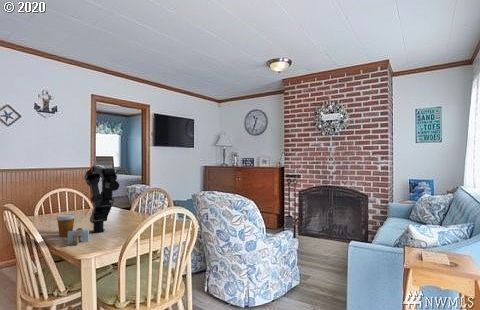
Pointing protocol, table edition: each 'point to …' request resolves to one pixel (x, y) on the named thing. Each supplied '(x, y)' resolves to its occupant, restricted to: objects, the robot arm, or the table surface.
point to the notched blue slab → (81, 233)
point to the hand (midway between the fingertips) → (107, 215)
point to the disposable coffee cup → (65, 224)
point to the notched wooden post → (76, 237)
